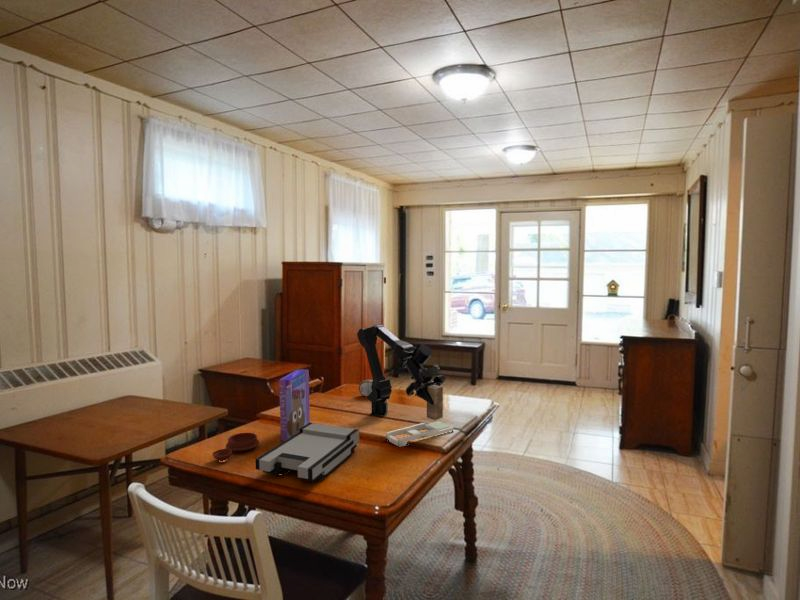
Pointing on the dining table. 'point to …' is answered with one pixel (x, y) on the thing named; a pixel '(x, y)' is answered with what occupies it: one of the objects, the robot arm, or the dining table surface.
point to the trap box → (415, 434)
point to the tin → (365, 387)
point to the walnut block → (435, 402)
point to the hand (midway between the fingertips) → (437, 402)
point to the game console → (311, 452)
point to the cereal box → (294, 403)
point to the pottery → (237, 445)
